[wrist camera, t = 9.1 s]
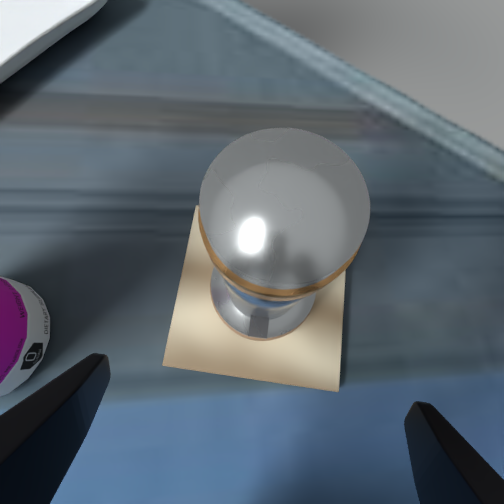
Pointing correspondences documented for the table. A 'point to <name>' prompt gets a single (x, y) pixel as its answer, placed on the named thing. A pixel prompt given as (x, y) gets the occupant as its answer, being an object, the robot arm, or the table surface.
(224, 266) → the grey tall flared piece
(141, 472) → the table surface
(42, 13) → the salad plate
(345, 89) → the table surface
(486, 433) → the table surface
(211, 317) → the beige square tile
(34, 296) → the supplement can
